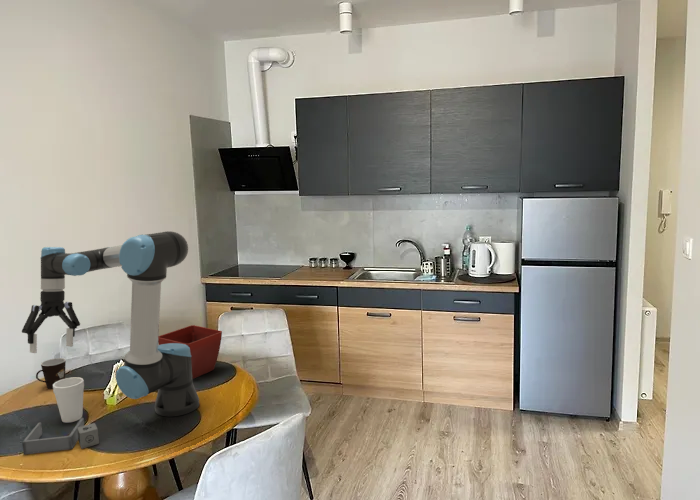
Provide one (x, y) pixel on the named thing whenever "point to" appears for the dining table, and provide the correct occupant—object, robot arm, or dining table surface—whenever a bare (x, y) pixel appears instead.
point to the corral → (49, 440)
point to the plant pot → (197, 346)
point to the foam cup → (69, 398)
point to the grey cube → (88, 435)
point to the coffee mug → (52, 371)
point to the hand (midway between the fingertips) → (51, 349)
